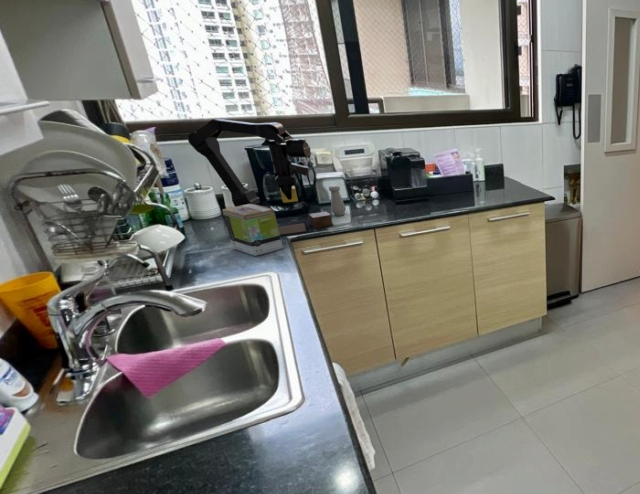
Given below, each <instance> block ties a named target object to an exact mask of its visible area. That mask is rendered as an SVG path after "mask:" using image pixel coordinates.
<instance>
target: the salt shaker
mask: <svg viewBox="0 0 640 494" xmlns="http://www.w3.org/2000/svg"><path fill="white" fill-rule="evenodd" d="M340 190H341V187H340V185H338V184H330V185H328V191H329V192H330V211H331V213H332V214H333V215H334V216H340V217H341V216H344V215H345V213H346V209H347V208H346V205H345V203H344V200H343V198H342V195H341V192H340Z"/></svg>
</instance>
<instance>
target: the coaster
mask: <svg viewBox="0 0 640 494" xmlns="http://www.w3.org/2000/svg"><path fill="white" fill-rule="evenodd" d="M278 230H279V233H280V237H282V236H290V235H297V234H302V233H303V234H304V233H307V228H306V224H305V222H302V223H294V224H287V225H280V226H279V225H278Z"/></svg>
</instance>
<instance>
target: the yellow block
mask: <svg viewBox="0 0 640 494" xmlns="http://www.w3.org/2000/svg"><path fill="white" fill-rule="evenodd" d="M279 191H280V195H281V200H282V203H283V204H284V203H285V204H286V203H293V202H299V198H298V194H297V189H296V186H295V185H293V186H292V199H291V200H288V198H287V197H286V196H285V194H284V193H283V192H282V190H281V189H280V188H279Z"/></svg>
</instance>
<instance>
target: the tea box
mask: <svg viewBox="0 0 640 494" xmlns="http://www.w3.org/2000/svg"><path fill="white" fill-rule="evenodd" d="M221 211H222V214H223V218H224V221H225V225H226V228H227V233H228V235H229V239H230V242H231V245H232V248H233V250H238V251H240V252H243V253H246V254H249V255H251V256H254V257H256V256H261V255H264V254H268V253H271V252H275V251H278V250H281V249H283V248H284V247H283V241H282V237H281V236H280V233H279V230H278V227H279V225H278V222H277V218H276V213H275V210H274V208H271V207H267V206H263V205H255V204H247V205H242V206H237V207H235V206H232V207H227V208H223V209H221Z"/></svg>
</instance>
